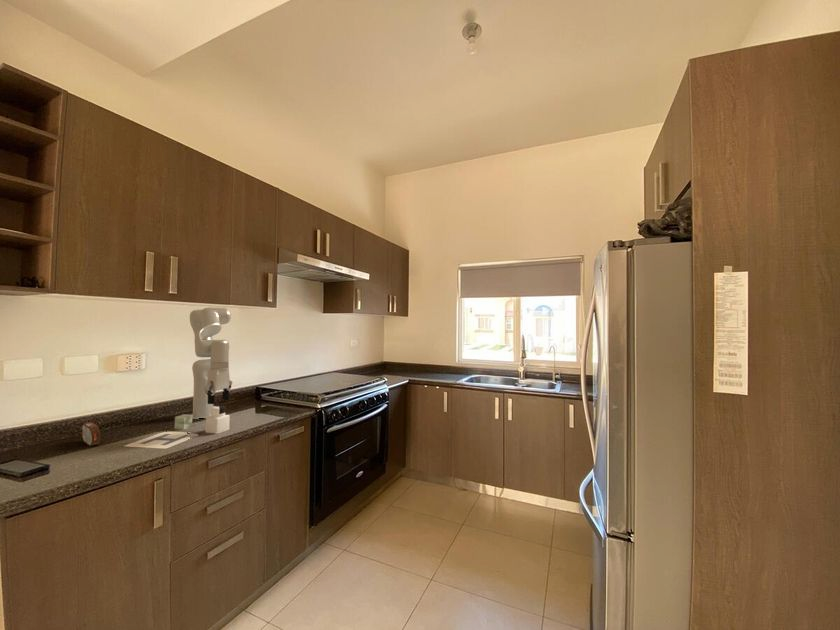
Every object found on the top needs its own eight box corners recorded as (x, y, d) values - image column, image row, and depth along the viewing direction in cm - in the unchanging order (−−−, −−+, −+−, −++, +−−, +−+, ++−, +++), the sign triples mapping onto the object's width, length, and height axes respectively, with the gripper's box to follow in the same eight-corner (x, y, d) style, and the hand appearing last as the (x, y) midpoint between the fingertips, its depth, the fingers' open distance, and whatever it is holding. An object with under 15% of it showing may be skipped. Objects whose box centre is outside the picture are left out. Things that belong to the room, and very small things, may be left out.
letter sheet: (165, 431, 159) (165, 431, 159) (203, 433, 156) (203, 433, 156) (123, 446, 139) (123, 446, 139) (166, 448, 136) (166, 448, 136)
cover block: (182, 426, 167) (183, 414, 167) (192, 427, 166) (192, 414, 167) (174, 429, 162) (174, 417, 162) (183, 430, 162) (184, 417, 162)
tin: (100, 446, 139) (101, 425, 139) (90, 448, 136) (91, 427, 137) (90, 439, 147) (91, 420, 148) (80, 441, 145) (81, 421, 145)
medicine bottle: (218, 428, 164) (219, 403, 165) (229, 429, 162) (230, 405, 163) (205, 432, 157) (205, 407, 158) (216, 434, 155) (217, 408, 156)
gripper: (224, 364, 170) (224, 398, 169) (198, 367, 153) (197, 405, 152) (238, 364, 169) (237, 398, 168) (213, 367, 152) (212, 405, 151)
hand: (218, 401), depth 160 cm, fingers open, 9 cm apart
